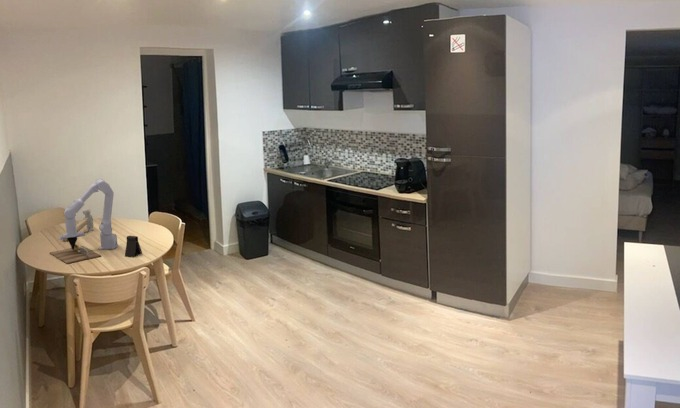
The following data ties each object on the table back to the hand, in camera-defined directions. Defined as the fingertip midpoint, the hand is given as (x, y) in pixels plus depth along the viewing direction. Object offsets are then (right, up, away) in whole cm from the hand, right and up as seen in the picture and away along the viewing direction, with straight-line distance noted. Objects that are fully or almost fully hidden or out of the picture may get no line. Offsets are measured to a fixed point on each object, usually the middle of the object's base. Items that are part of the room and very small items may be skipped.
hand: (73, 248), depth 338 cm
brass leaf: (+2, -1, +1) cm, 3 cm away
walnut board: (+4, -3, -5) cm, 7 cm away
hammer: (-15, +6, +38) cm, 41 cm away
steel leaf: (+10, -3, -6) cm, 12 cm away
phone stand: (+39, -4, -3) cm, 39 cm away
